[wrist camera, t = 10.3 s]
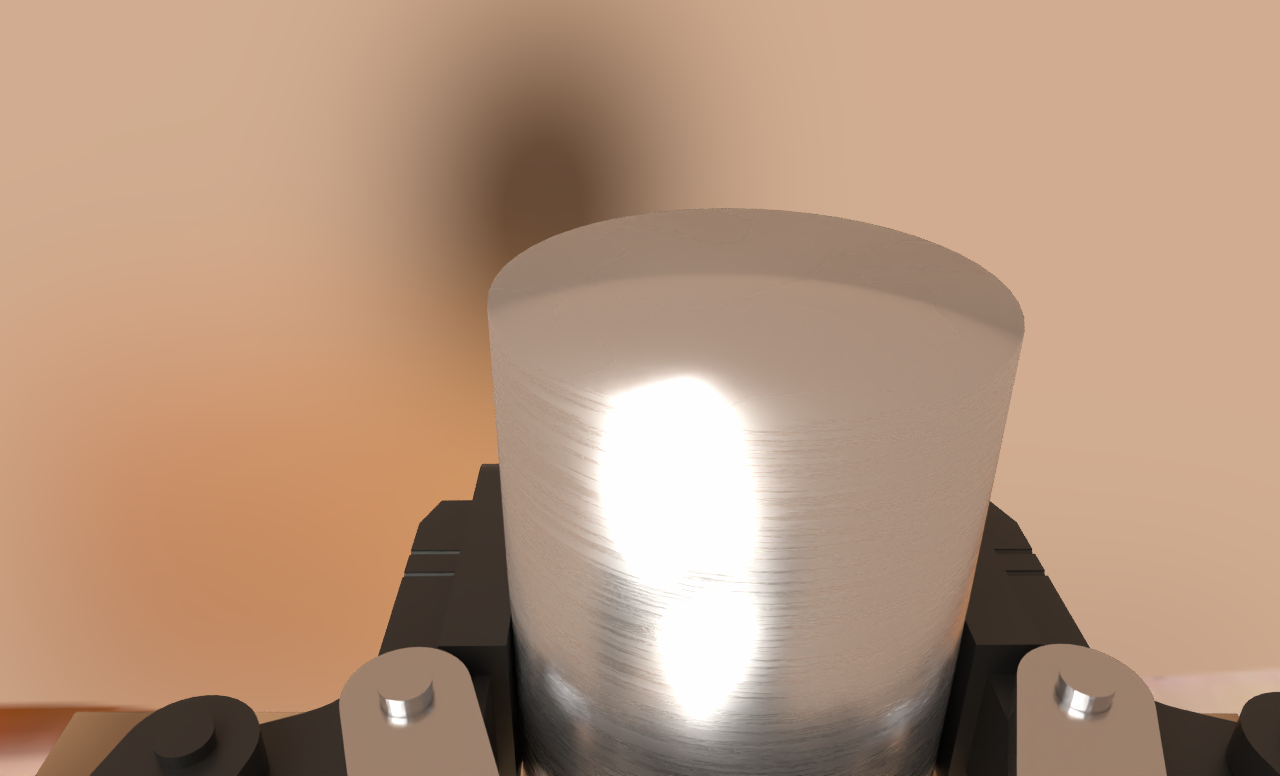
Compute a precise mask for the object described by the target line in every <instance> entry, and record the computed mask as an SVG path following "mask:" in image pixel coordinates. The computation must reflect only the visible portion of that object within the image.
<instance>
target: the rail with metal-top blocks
mask: <svg viewBox="0 0 1280 776" xmlns="http://www.w3.org/2000/svg"><path fill="white" fill-rule="evenodd" d="M152 713H154V712H75V714H74V715H73V717H72V719H71V720H70V722H69V723H68V725H67V727H66V728H65V730H64V731H63V733H62V734H61V736H60V738H59V739H58V741H57V742H56V744H55V745H54V747H53V749H52V750H51V752H50V753H49V755H48V757H47V758H46V760H45V761H44V763H43V764H42V766H41V768H40V769H39V771H38V772H37V774H36V775H35V776H89V775H90V774H91V773H92V772H93V771H94V770H95V769H96V768H97V767H98V765H99V764H100V763H101V762H102V761H103V760H104V759H105V758H106V757H107V755H108V754H109V753H110V752H111V751H112V750H113V749H114V748H115V747H116V745H117V744H118V743H119V742H120V741H121V740H122V739H123V738H124V737H125V736H126V734H127V733H128V732H129V731H130V730H131V729H132V728H133V727H134V726H136V725H137V724H138V723H139V722H141V721H142V720H143V719H144V718H146V717H147V716H149V715H151V714H152ZM254 713H255V714H256V716H257V719H258V721H259V724H262V723H266V722H270V721H274V720H278V719H281V718H285V717H289V716H293V715H297V714H301V713H305V712H254ZM1204 715H1208V716H1213V717H1217V718H1221V719H1226V720H1230V721H1234V722H1238V719H1239V716H1238V714H1204ZM521 776H523V772H522V768H521ZM933 776H937V774H936V771H935V769H934V774H933Z"/></svg>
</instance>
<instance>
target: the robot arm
mask: <svg viewBox="0 0 1280 776" xmlns="http://www.w3.org/2000/svg"><path fill="white" fill-rule="evenodd" d="M1044 571H1045V570H1044V569H1043V567H1042V565H1041V563H1040V562H1039V560H1038V558H1037V557H1036V555H1035V554H1032V548H1031V546H1030V544H1029V543H1028V541H1027V539H1026V538H1025V536H1024V534H1023V532H1022V531H1021V529H1020V527H1019V525H1018V524H1017V522H1016V521H1014V520H1013V519H1012V518H1010V517H1009V516H1008V515H1007V514H1005V513H1004V512H1003V511H1002V510H1000V509H999V508H998V507H997V506H995V505H994V504H993V503H992V502H990V501H989V506H988V511H987V516H986V521H985V526H984V531H983V535H982V540H981V545H980V550H979V555H978V560H977V565H976V569H975V574H974V579H973V584H972V589H971V594H970V599H969V603H968V608H967V613H966V618H965V623H964V628H963V633H962V638H961V642H960V647H959V652H958V657H957V662H956V667H955V672H954V676H953V681H952V686H951V691H950V696H949V701H948V706H947V710H946V715H945V720H944V725H943V730H942V735H941V740H940V745H939V749H938V754H937V759H936V764H935V771H936V774H937V776H1280V692H1271V693H1264V694H1261V695H1258V696H1255V697H1253V698H1252V699H1250V700H1249V701H1248V702H1247V703H1246V704H1245V705H1244V707H1243V709H1242V712H1241V714H1240V717H1239V719H1238V722H1234V721H1230V720H1226V719H1221V718H1217V717H1213V716H1208V715H1204V714H1200V713H1195V712H1191V711H1187V710H1182V709H1178V708H1175V707H1171V706H1167V705H1164V704H1162V703H1159V702H1156V701H1154V698H1153V696H1152V694H1151V692H1150V690H1149V688H1148V687H1147V685H1146V684H1145V683H1144V681H1143V680H1142V679H1141V678H1140V677H1139V676H1138V675H1137V674H1136V673H1135V672H1134V671H1132V670H1131V669H1130V668H1129V667H1127V666H1126V665H1124V664H1123V663H1121V662H1120V661H1118V660H1116V659H1115V658H1113V657H1110V656H1108V655H1106V654H1105V653H1102V652H1099V651H1096V650H1094V649H1090V647H1089V646H1088V644H1087V642H1086V640H1085V639H1084V637H1083V635H1082V634H1081V632H1080V630H1079V629H1078V627H1077V625H1076V623H1075V622H1074V620H1073V618H1072V616H1071V615H1070V613H1069V611H1068V610H1067V608H1066V606H1065V604H1064V603H1063V601H1062V599H1061V598H1060V596H1059V594H1058V593H1057V591H1056V589H1055V588H1054V586H1053V584H1052V582H1051V580H1050V579H1049V577H1048V576H1045V574H1044ZM404 572H405V575H404V577H403V578H402V581H401V584H400V588H399V591H398V594H397V597H396V600H395V604H394V607H393V610H392V614H391V617H390V620H389V623H388V626H387V629H386V633H385V636H384V639H383V642H382V645H381V649H380V652H379V655H378V657H376V658H374V659H372V660H370V661H369V662H367V663H366V664H364V665H363V666H362V667H360V668H359V669H358V670H357V671H356V672H355V673H354V674H353V675H352V676H351V677H350V678H349V680H348V681H347V683H346V684H345V686H344V688H343V690H342V692H341V697H340V699H338V700H336V701H334V702H332V703H330V704H328V705H326V706H323V707H321V708H318V709H315V710H312V711H308V712H305V713H301V714H297V715H293V716H289V717H285V718H281V719H278V720H274V721H270V722H266V723H262V724H259V721H258V719H257V716H256V714H255V713H254V711H253V710H252V709H251V708H250V707H249V706H248V705H246V704H245V703H243V702H241V701H239V700H238V699H234V698H231V697H227V696H218V695H206V696H198V697H192V698H189V699H184V700H181V701H178V702H175V703H172V704H169V705H167V706H165V707H163V708H161V709H159V710H157V711H155V712H154V713H152V714H151V715H149V716H147V717H146V718H144V719H143V720H142V721H141V722H139V723H138V724H137V725H136V726H134V727H133V728H132V729H131V730H130V731H129V732H128V733H127V734H126V736H125V737H124V738H123V739H122V740H121V741H120V742H119V743H118V744H117V745H116V747H115V748H114V749H113V750H112V751H111V752H110V753H109V754H108V755H107V757H106V758H105V759H104V760H103V761H102V762H101V763H100V764H99V765H98V767H97V768H96V769H95V770H94V771H93V772H92V773H91V774H90V775H89V776H521V768H522V750H521V737H520V723H519V710H518V697H517V683H516V670H515V657H514V643H513V630H512V617H511V608H510V600H509V587H508V573H507V560H506V547H505V534H504V521H503V507H502V494H501V481H500V468H499V464H482V465H481V467H480V471H479V475H478V480H477V484H476V488H475V492H474V496H473V500H467V501H466V500H463V501H460V500H458V501H441V502H440V503H439V505H438V506H436V507H435V508H434V509H433V510H432V511H431V512H430V513H429V515H428V516H427V517H425V518H424V519H423V520H422V522H421V523H420V524H419V526H418V530H417V533H416V536H415V539H414V543H413V546H412V549H411V555H410V556H409V559H408V562H407V565H406V568H405V571H404Z"/></svg>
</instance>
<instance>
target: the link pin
mask: <svg viewBox="0 0 1280 776" xmlns="http://www.w3.org/2000/svg"><path fill="white" fill-rule="evenodd" d="M487 309H488V322H489V335H490V349H491V362H492V375H493V388H494V402H495V415H496V428H497V441H498V454H499V468H500V481H501V494H502V507H503V521H504V534H505V547H506V560H507V573H508V587H509V600H510V608H511V617H512V630H513V643H514V657H515V670H516V683H517V697H518V710H519V723H520V737H521V750H522V772H523V776H933V774H934V769H935V764H936V759H937V754H938V749H939V745H940V740H941V735H942V730H943V725H944V720H945V715H946V710H947V706H948V701H949V696H950V691H951V686H952V681H953V676H954V672H955V667H956V662H957V657H958V652H959V647H960V642H961V638H962V633H963V628H964V623H965V618H966V613H967V608H968V603H969V599H970V594H971V589H972V584H973V579H974V574H975V569H976V565H977V560H978V555H979V550H980V545H981V540H982V535H983V531H984V526H985V521H986V516H987V511H988V506H989V501H990V497H991V491H992V487H993V482H994V477H995V472H996V467H997V462H998V458H999V452H1000V448H1001V443H1002V438H1003V433H1004V428H1005V423H1006V419H1007V414H1008V409H1009V404H1010V399H1011V394H1012V390H1013V385H1014V380H1015V375H1016V370H1017V365H1018V360H1019V355H1020V350H1021V346H1022V341H1023V336H1024V316H1023V313H1022V310H1021V308H1020V305H1019V302H1018V301H1017V300H1016V298H1015V297H1014V296H1013V294H1012V293H1011V291H1010V290H1009V289H1008V288H1007V287H1006V286H1005V285H1004V284H1003V283H1002V282H1001V281H1000V280H999V279H998V278H997V277H996V276H994V275H993V274H991V273H990V272H988V271H987V270H986V269H984V268H983V267H981V266H980V265H978V264H977V263H975V262H973V261H971V260H970V259H968V258H966V257H964V256H962V255H961V254H958V253H956V252H954V251H952V250H949V249H947V248H945V247H943V246H941V245H938V244H936V243H933V242H930V241H927V240H924V239H922V238H919V237H916V236H913V235H910V234H907V233H903V232H900V231H896V230H893V229H890V228H885V227H881V226H877V225H873V224H869V223H865V222H860V221H854V220H848V219H843V218H839V217H832V216H825V215H818V214H811V213H801V212H792V211H782V210H781V211H780V210H765V209H737V208H736V209H735V208H717V209H689V210H674V211H664V212H655V213H646V214H639V215H633V216H627V217H621V218H616V219H611V220H607V221H602V222H598V223H594V224H590V225H587V226H583V227H579V228H576V229H572V230H570V231H567V232H564V233H562V234H559V235H556V236H553V237H551V238H549V239H547V240H544V241H542V242H540V243H538V244H536V245H534V246H532V247H530V248H529V249H527V250H526V251H524V252H522V253H521V254H519V255H518V256H516V257H515V258H514V259H513V260H511V261H510V262H509V263H508V264H506V265H505V266H504V268H503V269H502V270H501V271H500V272H499V273H498V275H497V276H496V277H495V279H494V281H493V283H492V285H491V287H490V289H489V294H488V301H487Z"/></svg>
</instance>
